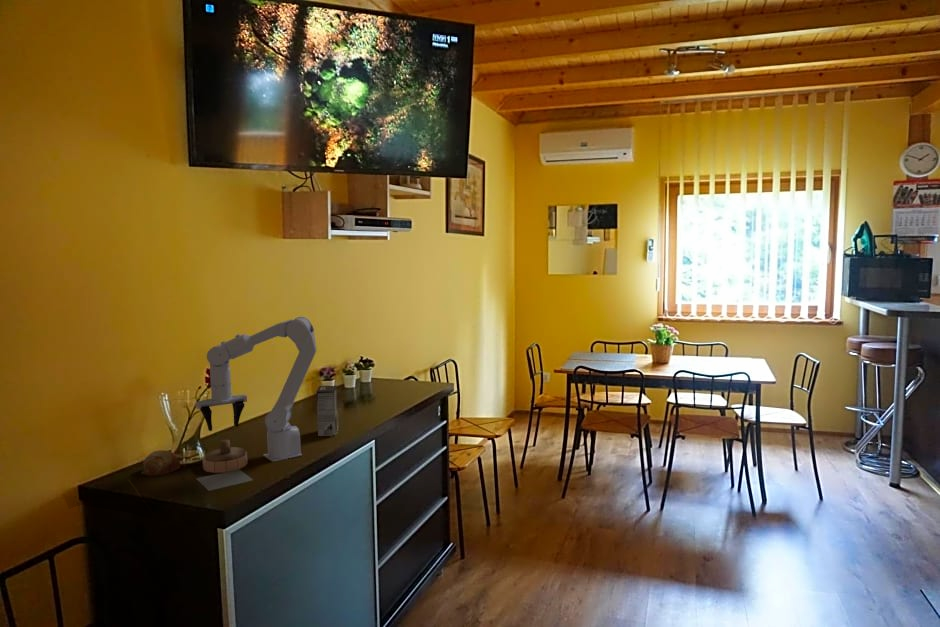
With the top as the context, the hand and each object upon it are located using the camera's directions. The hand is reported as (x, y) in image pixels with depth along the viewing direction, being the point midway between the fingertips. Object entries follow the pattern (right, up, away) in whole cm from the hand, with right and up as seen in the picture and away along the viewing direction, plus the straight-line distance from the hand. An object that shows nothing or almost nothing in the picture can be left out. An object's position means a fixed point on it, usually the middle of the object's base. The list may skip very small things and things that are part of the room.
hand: (223, 428), depth 193 cm
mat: (+7, -12, -18) cm, 22 cm away
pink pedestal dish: (+3, -7, -6) cm, 10 cm away
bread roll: (-15, -11, -8) cm, 20 cm away
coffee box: (+26, -7, +28) cm, 39 cm away
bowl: (+3, -10, -6) cm, 12 cm away
